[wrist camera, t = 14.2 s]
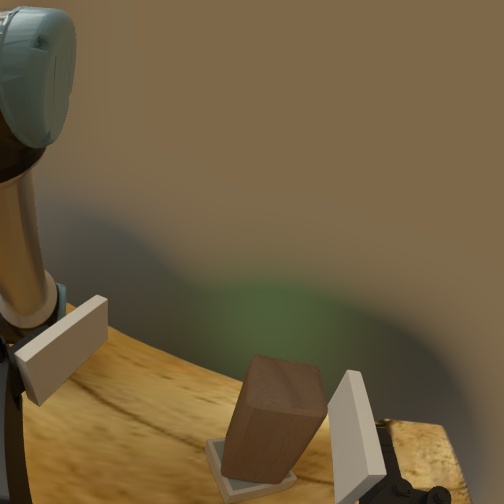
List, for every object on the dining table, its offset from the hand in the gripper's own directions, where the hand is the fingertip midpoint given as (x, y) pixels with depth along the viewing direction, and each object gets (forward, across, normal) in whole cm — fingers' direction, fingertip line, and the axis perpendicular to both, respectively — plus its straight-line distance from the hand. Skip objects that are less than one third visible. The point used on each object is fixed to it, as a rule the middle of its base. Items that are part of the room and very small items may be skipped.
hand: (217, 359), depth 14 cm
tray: (+17, +8, -38) cm, 42 cm away
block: (+17, +8, -34) cm, 39 cm away
